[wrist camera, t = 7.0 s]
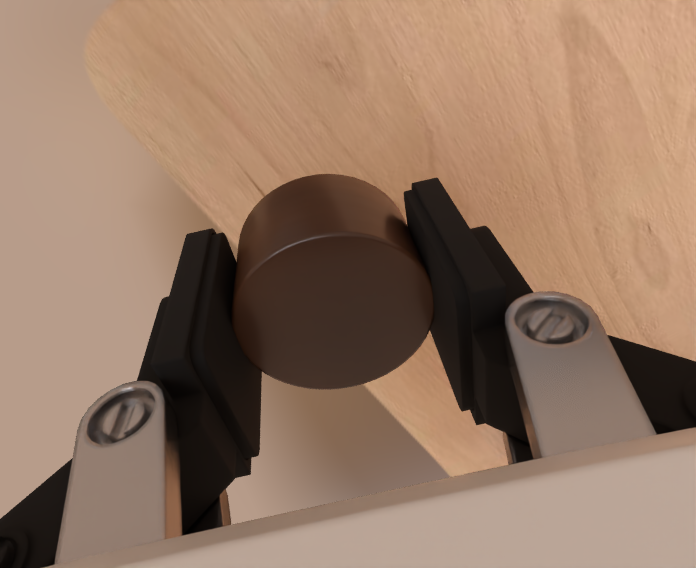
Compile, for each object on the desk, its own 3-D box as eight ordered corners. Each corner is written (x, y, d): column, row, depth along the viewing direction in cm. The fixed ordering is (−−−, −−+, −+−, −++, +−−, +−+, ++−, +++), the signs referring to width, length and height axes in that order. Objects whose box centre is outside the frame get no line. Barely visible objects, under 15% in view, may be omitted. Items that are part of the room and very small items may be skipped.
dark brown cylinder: (266, 330, 13) (265, 407, 11) (213, 196, 10) (198, 262, 8) (416, 297, 13) (442, 368, 11) (397, 154, 10) (428, 210, 8)
